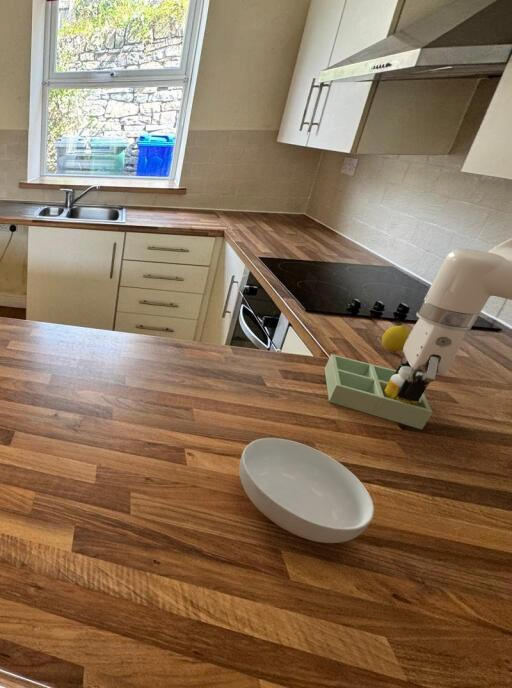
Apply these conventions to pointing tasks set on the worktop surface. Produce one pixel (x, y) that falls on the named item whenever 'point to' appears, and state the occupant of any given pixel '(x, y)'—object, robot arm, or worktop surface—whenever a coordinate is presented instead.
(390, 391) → the supplement bottle
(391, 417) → the compartment tray
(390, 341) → the lemon
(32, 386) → the worktop surface
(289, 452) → the cereal bowl
